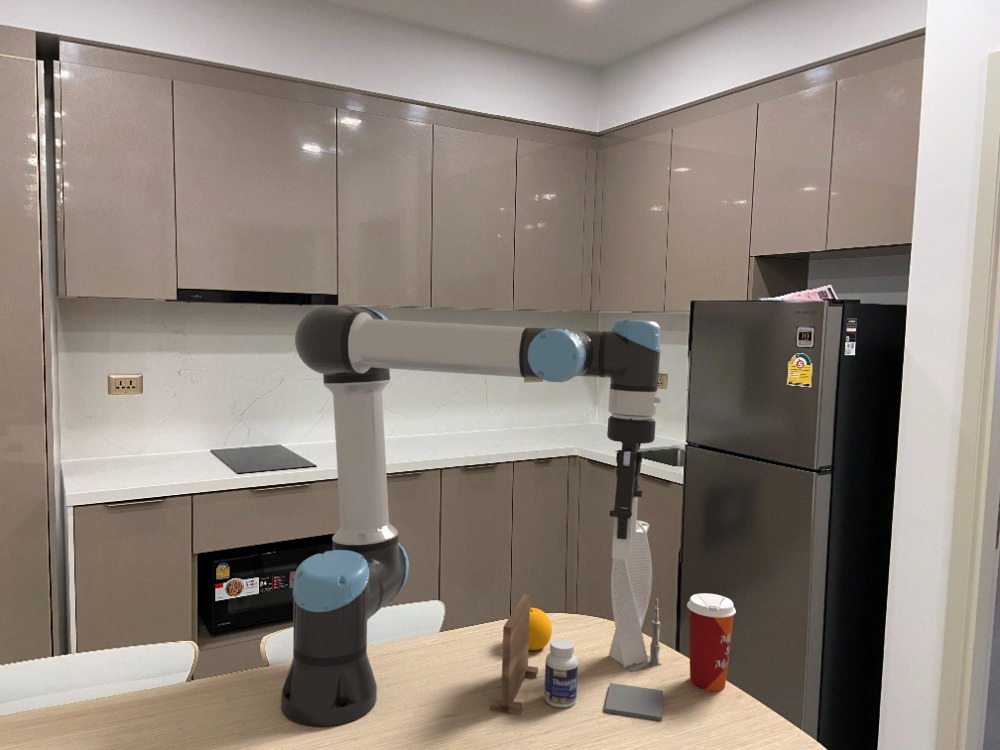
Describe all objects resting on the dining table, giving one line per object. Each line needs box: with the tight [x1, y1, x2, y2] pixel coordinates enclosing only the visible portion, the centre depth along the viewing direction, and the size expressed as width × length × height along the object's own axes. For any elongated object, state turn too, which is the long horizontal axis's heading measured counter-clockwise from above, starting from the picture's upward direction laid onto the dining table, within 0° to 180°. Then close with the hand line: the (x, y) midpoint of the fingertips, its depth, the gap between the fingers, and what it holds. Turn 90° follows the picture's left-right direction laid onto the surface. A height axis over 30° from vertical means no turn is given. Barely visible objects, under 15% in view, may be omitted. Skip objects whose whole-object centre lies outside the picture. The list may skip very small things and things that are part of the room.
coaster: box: [604, 682, 664, 722], centre depth 122 cm, size 9×9×1 cm
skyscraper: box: [608, 519, 662, 673], centre depth 137 cm, size 8×8×28 cm
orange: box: [528, 607, 553, 651], centre depth 142 cm, size 8×8×8 cm
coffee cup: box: [686, 592, 736, 692], centre depth 129 cm, size 8×8×15 cm
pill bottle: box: [544, 638, 579, 708], centre depth 122 cm, size 5×5×10 cm
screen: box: [488, 594, 539, 716], centre depth 124 cm, size 5×15×14 cm, turn 166°
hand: (624, 546), depth 119 cm, fingers open, 13 cm apart
